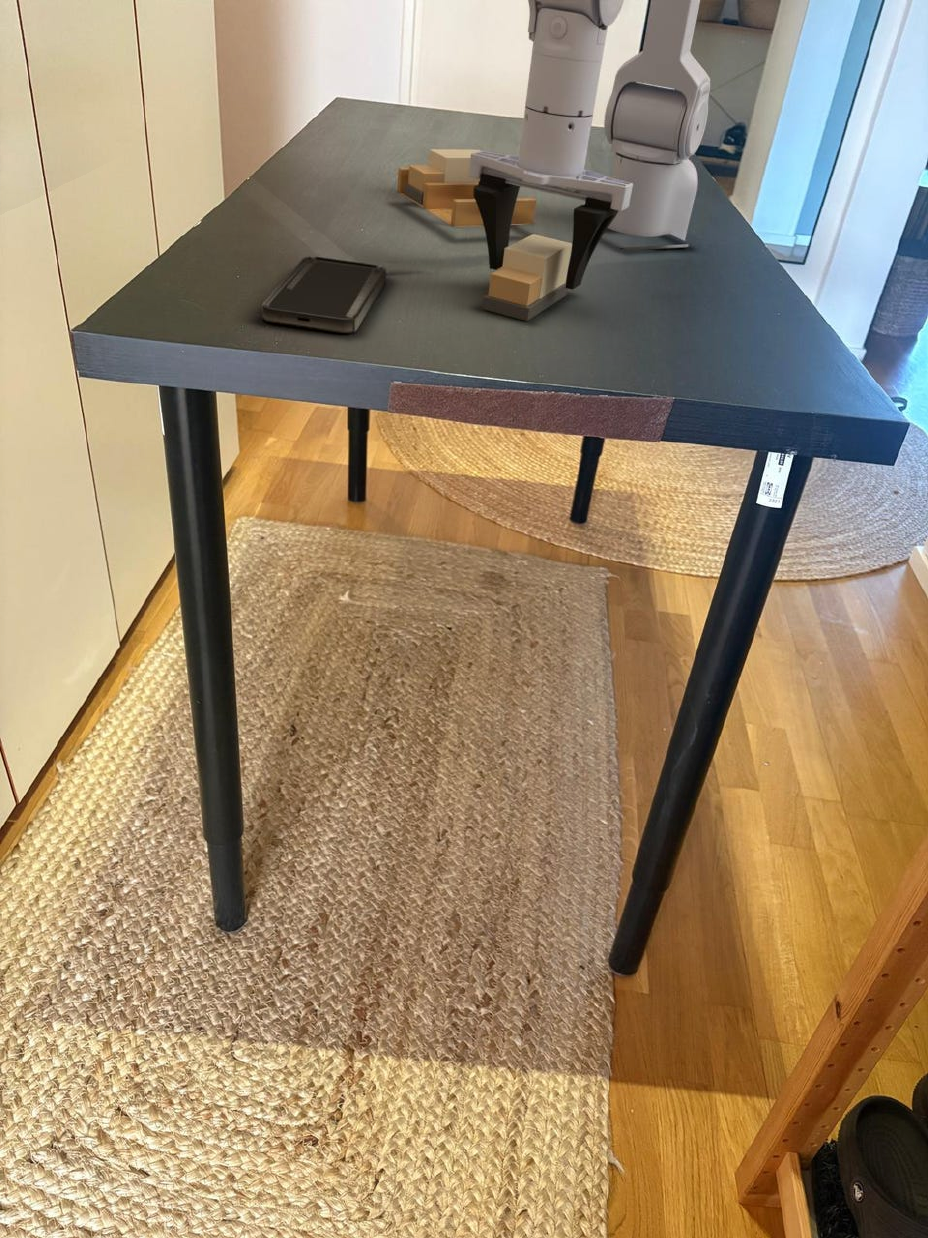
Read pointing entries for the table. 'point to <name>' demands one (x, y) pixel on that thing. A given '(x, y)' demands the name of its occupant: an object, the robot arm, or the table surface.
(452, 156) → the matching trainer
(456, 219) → the wooden compartment tray
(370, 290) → the phone
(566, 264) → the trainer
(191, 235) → the table surface
